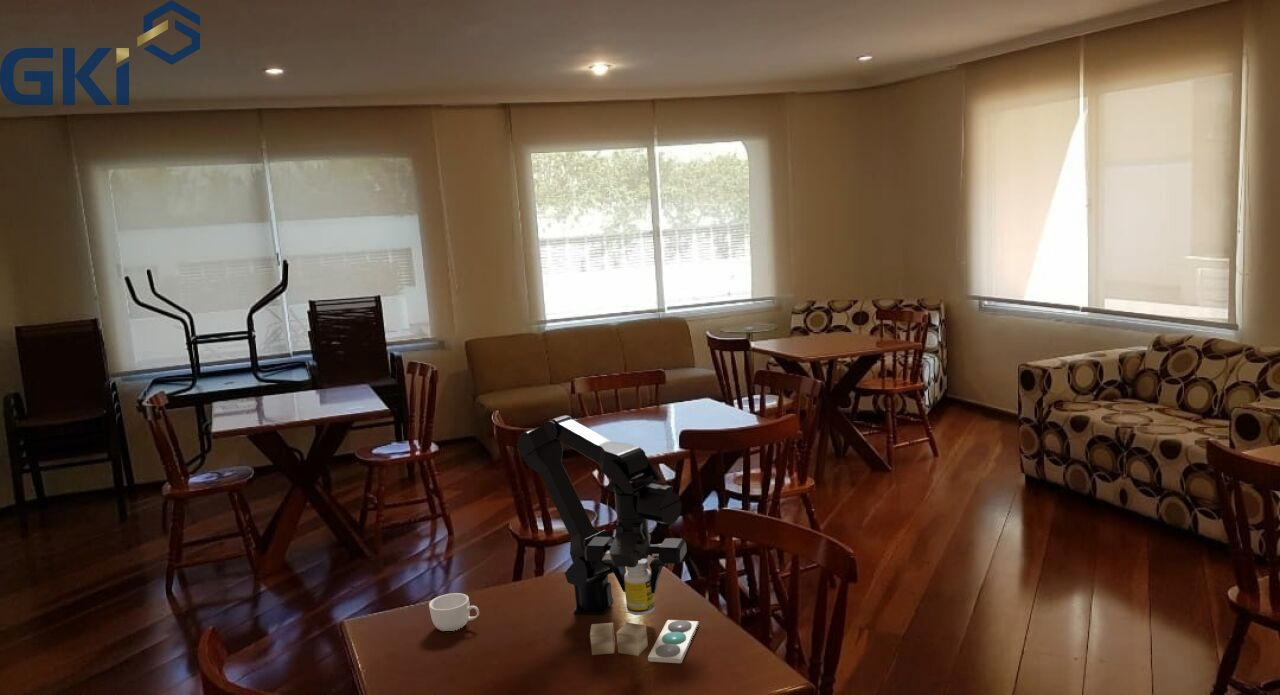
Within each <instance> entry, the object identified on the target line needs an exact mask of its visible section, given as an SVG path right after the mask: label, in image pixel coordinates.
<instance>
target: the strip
mask: <svg viewBox="0 0 1280 695" xmlns="http://www.w3.org/2000/svg"><path fill="white" fill-rule="evenodd" d="M666 620H667V621H666V622H665V624H664V626H663V627H662V630H661V632H660V633H659V636H658V637H657V639H656V641H655V643H654V645H653V647H652V648H651V650H650V652H649V653H648V656H647V661H648V662H653V663H654V662H655V663H669V664H671V663H672V664H682V663H683V660H684V658H685V656H686V654H687V652H688V650H689V647H690V645H691V643H692V641H693V639H694V637H695V634H696V632H697V630H698V628H699V626H698V625H699V621H697V620H695V621H694V620H682V619H681V620H679V619H666ZM697 627H698V628H697ZM696 629H697V630H696ZM693 636H694V637H693ZM692 638H693V639H692ZM691 640H692V641H691Z"/></svg>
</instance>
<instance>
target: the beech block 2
mask: <svg viewBox="0 0 1280 695" xmlns="http://www.w3.org/2000/svg"><path fill="white" fill-rule="evenodd" d="M615 633H616V642H617V643H616V644H617V652H618V653H619V654H623V655H624V654H625V655H629V656H630V655H631V656H637V657H639V656H640V655H641V653H642V652H643V651H645V649H646V648H647V647H648V645H649V644H648V634H647V633H648V632H647V625H645V624H639V623H633V622H626V623H624V624H623V625H622V626H621V627H620V628H619V629H617V632H615Z"/></svg>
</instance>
